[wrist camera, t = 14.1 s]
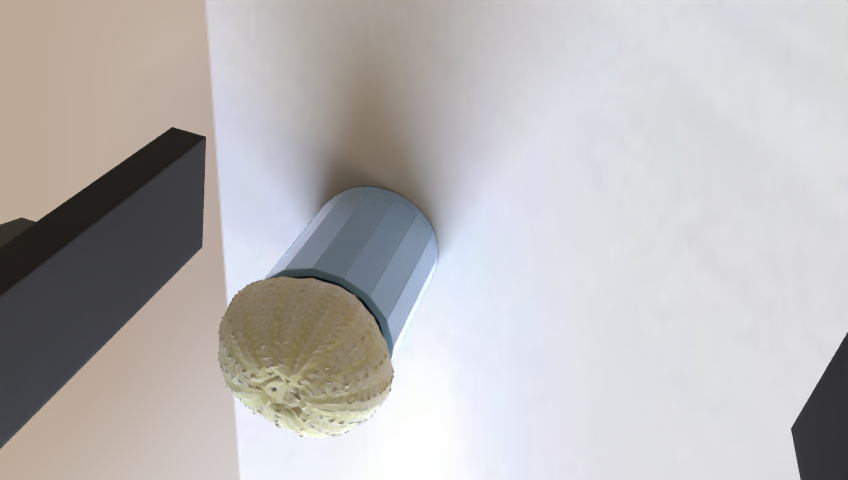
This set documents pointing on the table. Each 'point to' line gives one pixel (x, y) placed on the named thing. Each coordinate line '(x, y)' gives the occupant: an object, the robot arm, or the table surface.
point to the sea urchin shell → (304, 355)
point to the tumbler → (369, 255)
